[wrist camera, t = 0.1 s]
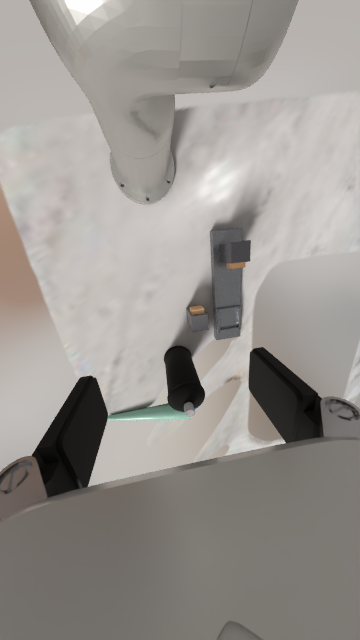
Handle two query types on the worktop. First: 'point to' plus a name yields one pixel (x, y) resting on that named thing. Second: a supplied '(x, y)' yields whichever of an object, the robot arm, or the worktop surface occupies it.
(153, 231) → the worktop surface
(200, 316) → the dark grey block
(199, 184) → the worktop surface
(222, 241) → the rail
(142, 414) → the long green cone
